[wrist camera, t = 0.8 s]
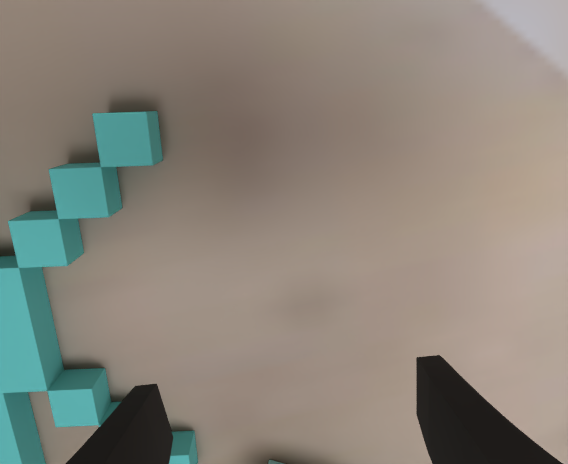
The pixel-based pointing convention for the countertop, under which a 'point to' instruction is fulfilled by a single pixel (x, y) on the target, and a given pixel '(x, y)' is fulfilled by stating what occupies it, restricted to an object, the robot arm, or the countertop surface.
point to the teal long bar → (274, 462)
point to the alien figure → (35, 303)
